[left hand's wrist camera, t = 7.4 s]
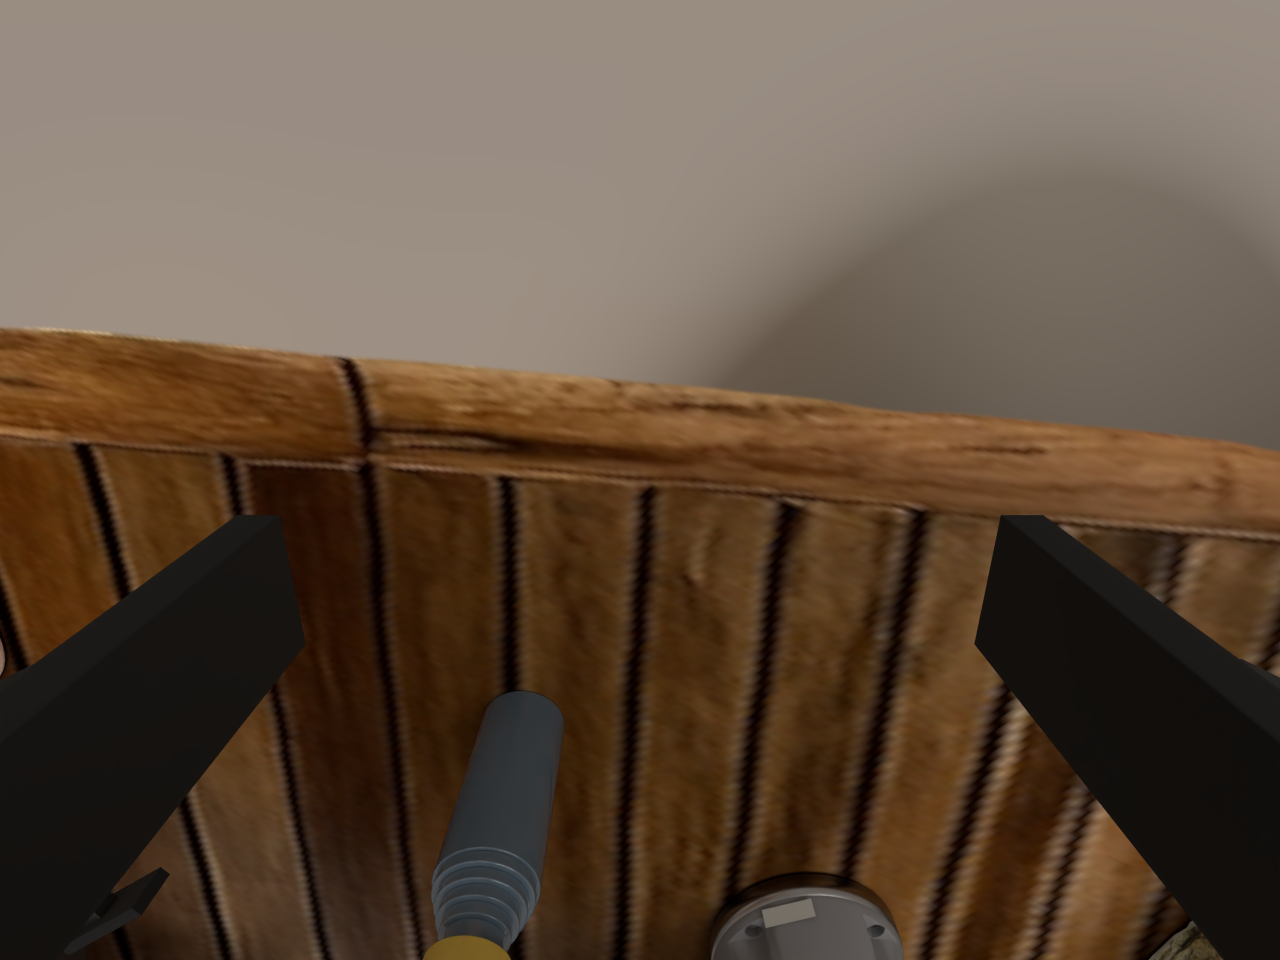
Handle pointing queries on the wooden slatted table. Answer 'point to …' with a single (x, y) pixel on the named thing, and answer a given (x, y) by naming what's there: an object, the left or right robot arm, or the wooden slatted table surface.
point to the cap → (465, 949)
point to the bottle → (500, 822)
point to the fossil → (1187, 946)
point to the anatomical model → (2, 657)
